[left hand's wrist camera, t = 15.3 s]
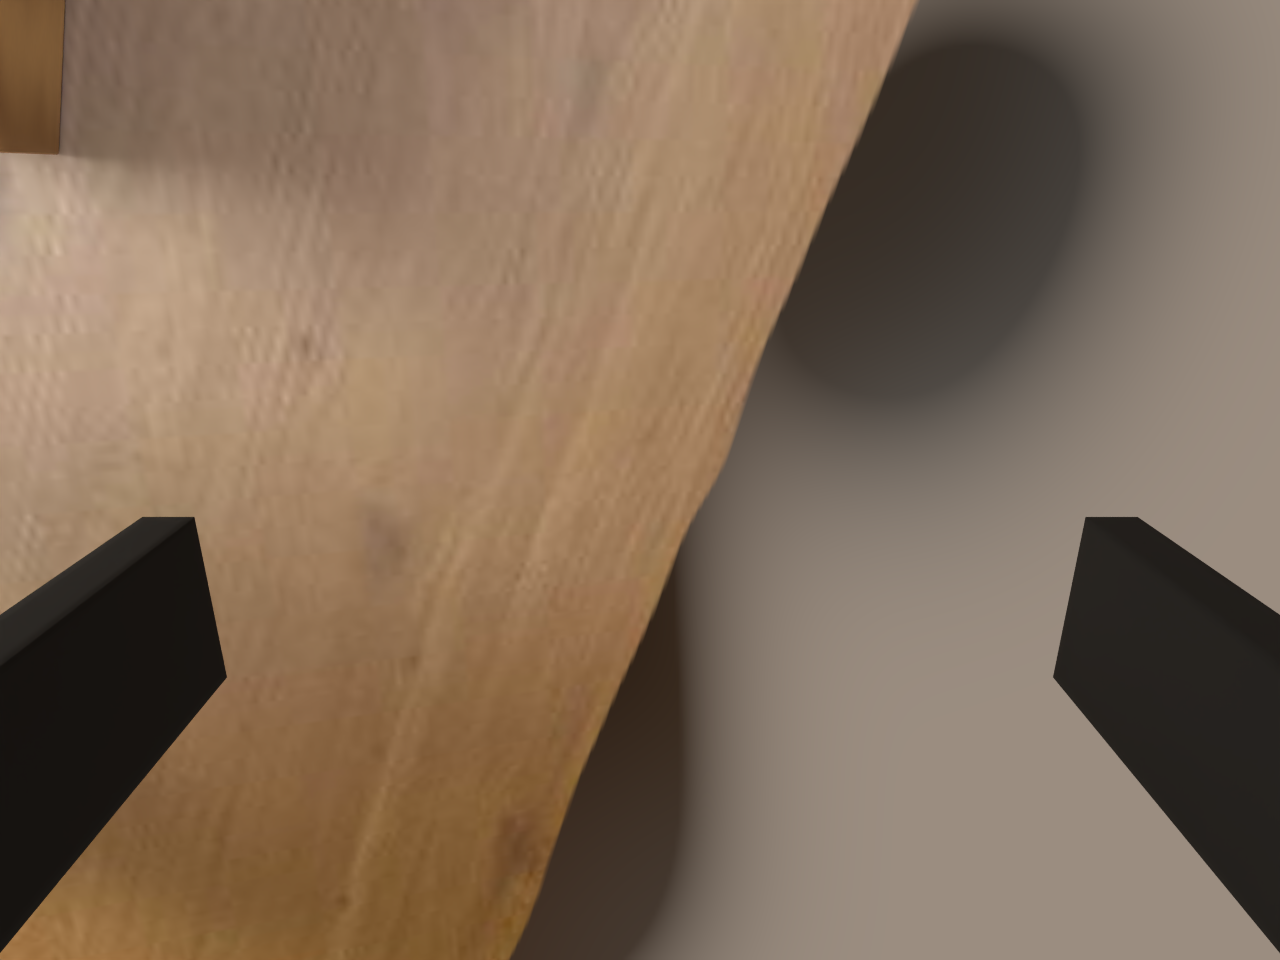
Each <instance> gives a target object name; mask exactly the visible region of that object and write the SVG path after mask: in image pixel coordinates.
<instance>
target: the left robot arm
mask: <svg viewBox="0 0 1280 960" xmlns="http://www.w3.org/2000/svg"><path fill="white" fill-rule="evenodd" d="M226 678H227V675H226V670H225V666H224V661H223V656H222V651H221V646H220V641H219V636H218V631H217V626H216V621H215V616H214V611H213V606H212V602H211V597H210V592H209V587H208V582H207V577H206V572H205V567H204V562H203V557H202V552H201V547H200V542H199V538H198V533H197V528H196V523H195V518H194V517H142V518H140V519H139V520H137V521H136V522H135V523H133V524H132V525H130V526H129V527H127V528H126V529H124V530H123V531H121V532H120V533H119V534H117V535H116V536H114V537H113V538H111V539H110V540H108V541H107V542H105V543H104V544H103V545H101V546H100V547H98V548H97V549H95V550H94V551H92V552H91V553H89V554H88V555H87V556H85V557H84V558H82V559H81V560H79V561H78V562H76V563H75V564H73V565H72V566H71V567H69V568H68V569H66V570H65V571H63V572H62V573H60V574H59V575H57V576H56V577H55V578H53V579H52V580H50V581H49V582H47V583H46V584H44V585H43V586H41V587H40V588H39V589H37V590H36V591H34V592H33V593H31V594H30V595H28V596H27V597H25V598H24V599H23V600H21V601H20V602H18V603H17V604H15V605H14V606H12V607H11V608H9V609H8V610H7V611H5V612H4V613H2V614H1V615H0V952H1V951H2V950H3V949H4V948H5V946H6V945H7V944H8V943H9V942H10V940H11V939H12V938H13V937H14V935H15V934H16V933H17V932H18V931H19V929H20V928H21V927H22V926H23V925H24V923H25V922H26V921H27V920H28V918H29V917H30V916H31V915H32V914H33V912H34V911H35V910H36V909H37V907H38V906H39V905H40V904H41V903H42V901H43V900H44V899H45V898H46V897H47V895H48V894H49V893H50V892H51V890H52V889H53V888H54V887H55V886H56V884H57V883H58V882H59V881H60V880H61V878H62V877H63V876H64V875H65V873H66V872H67V871H68V870H69V869H70V867H71V866H72V865H73V864H74V862H75V861H76V860H77V859H78V858H79V856H80V855H81V854H82V853H83V852H84V850H85V849H86V848H87V847H88V845H89V844H90V843H91V842H92V841H93V839H94V838H95V837H96V836H97V835H98V833H99V832H100V831H101V830H102V828H103V827H104V826H105V825H106V824H107V822H108V821H109V820H110V819H111V817H112V816H113V815H114V814H115V813H116V811H117V810H118V809H119V808H120V807H121V805H122V804H123V803H124V802H125V800H126V799H127V798H128V797H129V796H130V794H131V793H132V792H133V791H134V790H135V788H136V787H137V786H138V785H139V783H140V782H141V781H142V780H143V779H144V777H145V776H146V775H147V774H148V772H149V771H150V770H151V769H152V768H153V766H154V765H155V764H156V763H157V762H158V760H159V759H160V758H161V757H162V755H163V754H164V753H165V752H166V751H167V749H168V748H169V747H170V746H171V745H172V743H173V742H174V741H175V740H176V738H177V737H178V736H179V735H180V734H181V732H182V731H183V730H184V729H185V728H186V726H187V725H188V724H189V723H190V721H191V720H192V719H193V718H194V717H195V715H196V714H197V713H198V712H199V710H200V709H201V708H202V707H203V706H204V704H205V703H206V702H207V701H208V700H209V698H210V697H211V696H212V695H213V693H214V692H215V691H216V690H217V689H218V687H219V686H220V685H221V684H222V683H223V681H224V680H225V679H226ZM1053 678H1054V679H1055V680H1056V681H1057V683H1058V684H1059V685H1060V686H1061V687H1062V689H1063V690H1064V691H1065V692H1066V693H1067V695H1068V696H1069V697H1070V698H1071V700H1072V701H1073V702H1074V703H1075V704H1076V706H1077V707H1078V708H1079V709H1080V710H1081V712H1082V713H1083V714H1084V715H1085V717H1086V718H1087V719H1088V720H1089V721H1090V723H1091V724H1092V725H1093V726H1094V728H1095V729H1096V730H1097V731H1098V732H1099V734H1100V735H1101V736H1102V737H1103V738H1104V740H1105V741H1106V742H1107V743H1108V744H1109V746H1110V747H1111V748H1112V749H1113V751H1114V752H1115V753H1116V754H1117V755H1118V757H1119V758H1120V759H1121V760H1122V762H1123V763H1124V764H1125V765H1126V766H1127V768H1128V769H1129V770H1130V771H1131V772H1132V774H1133V775H1134V776H1135V777H1136V779H1137V780H1138V781H1139V782H1140V783H1141V785H1142V786H1143V787H1144V788H1145V790H1146V791H1147V792H1148V793H1149V794H1150V796H1151V797H1152V798H1153V799H1154V800H1155V802H1156V803H1157V804H1158V805H1159V807H1160V808H1161V809H1162V810H1163V811H1164V813H1165V814H1166V815H1167V816H1168V817H1169V819H1170V820H1171V821H1172V822H1173V824H1174V825H1175V826H1176V827H1177V828H1178V830H1179V831H1180V832H1181V833H1182V834H1183V836H1184V837H1185V838H1186V839H1187V841H1188V842H1189V843H1190V844H1191V845H1192V847H1193V848H1194V849H1195V850H1196V852H1197V853H1198V854H1199V855H1200V856H1201V858H1202V859H1203V860H1204V861H1205V862H1206V864H1207V865H1208V866H1209V867H1210V869H1211V870H1212V871H1213V872H1214V873H1215V875H1216V876H1217V877H1218V878H1219V879H1220V881H1221V882H1222V883H1223V884H1224V886H1225V887H1226V888H1227V889H1228V890H1229V892H1230V893H1231V894H1232V895H1233V897H1234V898H1235V899H1236V900H1237V901H1238V903H1239V904H1240V905H1241V906H1242V907H1243V909H1244V910H1245V911H1246V912H1247V914H1248V915H1249V916H1250V917H1251V918H1252V920H1253V921H1254V922H1255V923H1256V924H1257V926H1258V927H1259V928H1260V929H1261V931H1262V932H1263V933H1264V934H1265V935H1266V937H1267V938H1268V939H1269V940H1270V942H1271V943H1272V944H1273V945H1274V946H1275V948H1276V949H1277V950H1278V951H1279V952H1280V615H1279V614H1278V613H1276V612H1275V611H1273V610H1272V609H1271V608H1269V607H1268V606H1266V605H1265V604H1263V603H1262V602H1260V601H1259V600H1257V599H1256V598H1254V597H1253V596H1251V595H1250V594H1249V593H1247V592H1246V591H1244V590H1243V589H1241V588H1240V587H1239V586H1237V585H1236V584H1234V583H1233V582H1231V581H1230V580H1228V579H1227V578H1225V577H1224V576H1223V575H1221V574H1220V573H1218V572H1217V571H1215V570H1214V569H1212V568H1211V567H1209V566H1208V565H1206V564H1205V563H1204V562H1202V561H1201V560H1199V559H1198V558H1196V557H1195V556H1193V555H1192V554H1190V553H1189V552H1188V551H1186V550H1185V549H1183V548H1182V547H1180V546H1179V545H1177V544H1176V543H1175V542H1173V541H1172V540H1170V539H1169V538H1167V537H1166V536H1164V535H1163V534H1161V533H1160V532H1159V531H1157V530H1156V529H1154V528H1153V527H1151V526H1150V525H1148V524H1147V523H1145V522H1144V521H1143V520H1141V519H1140V518H1138V517H1086V518H1085V523H1084V528H1083V533H1082V538H1081V542H1080V547H1079V552H1078V557H1077V562H1076V567H1075V572H1074V577H1073V582H1072V587H1071V592H1070V597H1069V602H1068V606H1067V611H1066V616H1065V621H1064V626H1063V631H1062V636H1061V641H1060V646H1059V651H1058V656H1057V661H1056V666H1055V670H1054V675H1053Z"/></svg>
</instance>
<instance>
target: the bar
mask: <svg viewBox="0 0 1280 960" xmlns="http://www.w3.org/2000/svg"><path fill="white" fill-rule="evenodd" d="M64 12H65V0H0V152H1V153H28V154H55V155H56V154H58V153H59V131H60V107H61V83H62V59H63V36H64Z"/></svg>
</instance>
